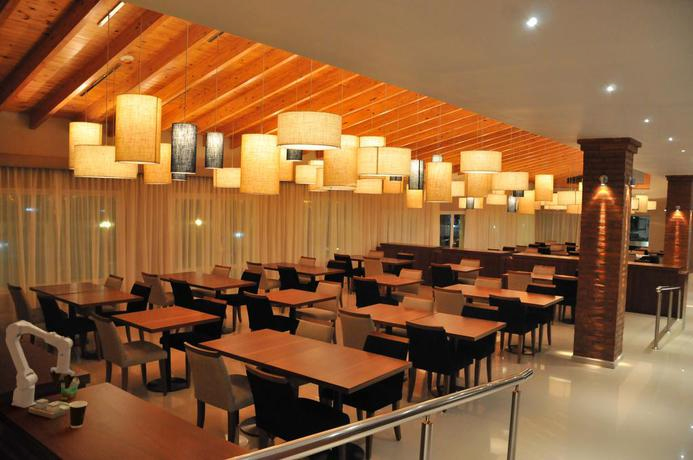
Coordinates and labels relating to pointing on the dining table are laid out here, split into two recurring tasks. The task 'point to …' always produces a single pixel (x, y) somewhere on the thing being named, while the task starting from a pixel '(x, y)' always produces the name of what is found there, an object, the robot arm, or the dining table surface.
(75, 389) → the food container
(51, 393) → the dining table surface
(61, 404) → the tray
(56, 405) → the plug
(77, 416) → the dixie cup
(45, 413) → the grey cubby shelf
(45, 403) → the beige block
